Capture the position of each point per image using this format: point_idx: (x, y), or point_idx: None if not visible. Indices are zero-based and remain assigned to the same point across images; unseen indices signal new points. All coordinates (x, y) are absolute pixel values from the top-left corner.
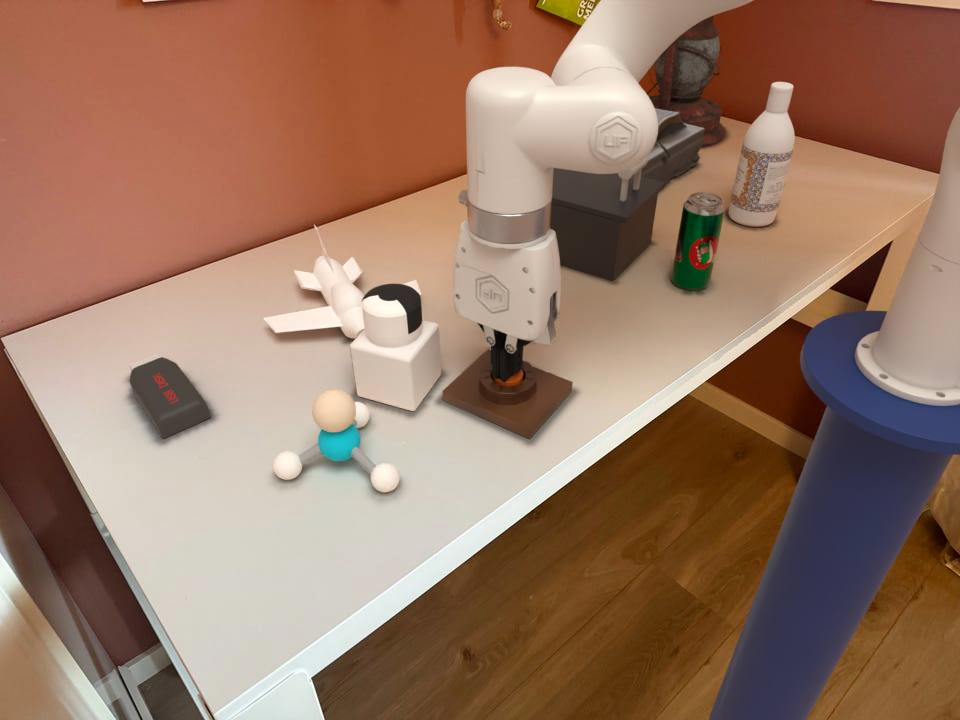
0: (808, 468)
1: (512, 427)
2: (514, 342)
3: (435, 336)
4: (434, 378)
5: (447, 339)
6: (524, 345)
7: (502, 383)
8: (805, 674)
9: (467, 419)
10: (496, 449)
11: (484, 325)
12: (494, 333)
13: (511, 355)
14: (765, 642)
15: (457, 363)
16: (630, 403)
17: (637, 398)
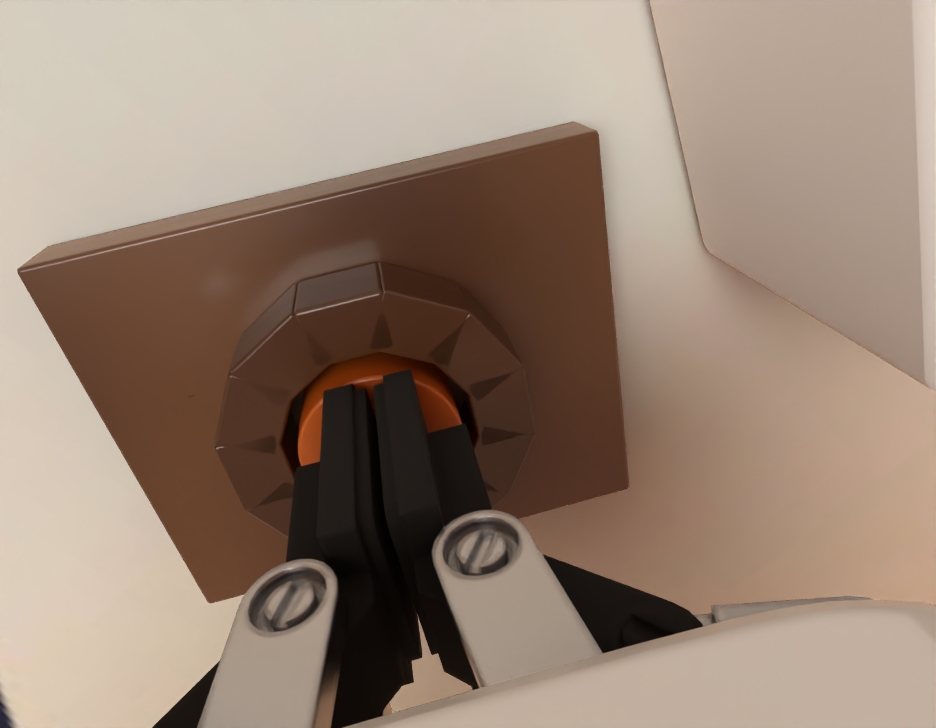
0: (3, 707)
1: (140, 228)
2: (232, 681)
3: (887, 313)
4: (702, 182)
5: (817, 411)
6: (180, 702)
7: (346, 377)
8: None
9: (380, 115)
10: (79, 58)
11: (484, 695)
12: (458, 631)
13: (314, 549)
14: None
15: (692, 348)
16: (18, 667)
17: (30, 695)
